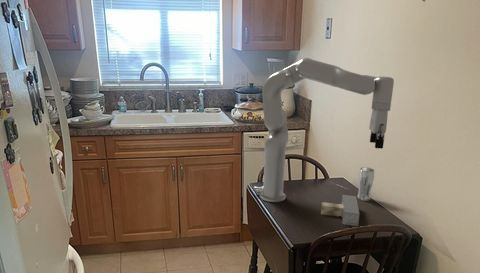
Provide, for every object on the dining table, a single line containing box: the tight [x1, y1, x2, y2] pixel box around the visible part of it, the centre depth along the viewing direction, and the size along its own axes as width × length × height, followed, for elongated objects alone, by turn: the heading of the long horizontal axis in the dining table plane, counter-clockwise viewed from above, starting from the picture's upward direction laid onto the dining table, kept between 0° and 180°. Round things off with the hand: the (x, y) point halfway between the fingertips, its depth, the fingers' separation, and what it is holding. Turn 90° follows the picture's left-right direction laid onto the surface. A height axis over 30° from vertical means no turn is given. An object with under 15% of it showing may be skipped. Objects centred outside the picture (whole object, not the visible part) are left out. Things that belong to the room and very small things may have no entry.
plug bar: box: [320, 201, 343, 218], centre depth 163 cm, size 13×4×4 cm, turn 77°
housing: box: [340, 194, 360, 227], centre depth 161 cm, size 6×19×6 cm, turn 167°
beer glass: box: [356, 166, 375, 202], centre depth 179 cm, size 7×7×15 cm
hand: (376, 145), depth 162 cm, fingers open, 9 cm apart
